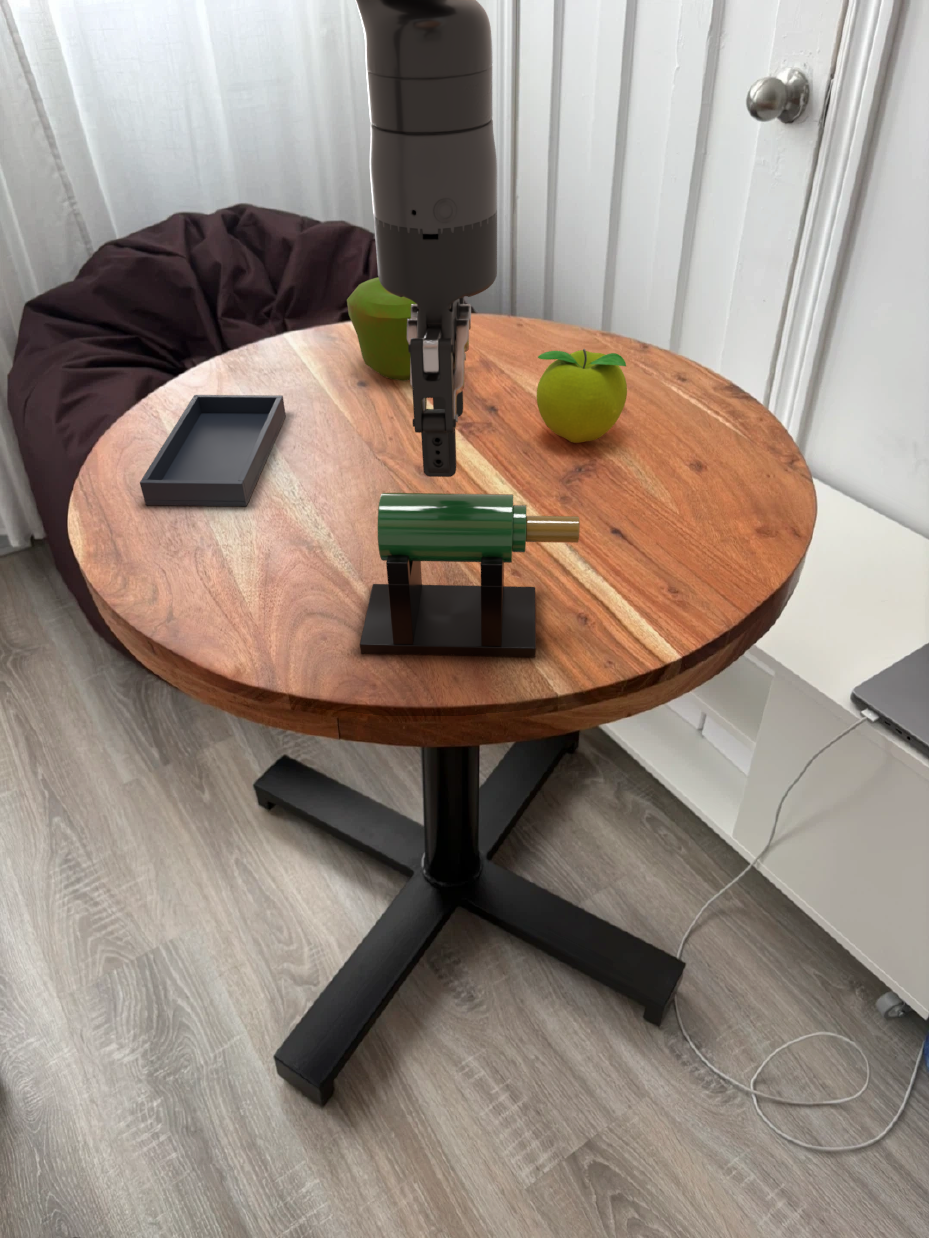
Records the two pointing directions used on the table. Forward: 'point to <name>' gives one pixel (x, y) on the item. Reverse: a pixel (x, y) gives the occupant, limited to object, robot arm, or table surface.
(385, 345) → the apple
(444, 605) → the rack
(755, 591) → the table surface
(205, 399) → the tray
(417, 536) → the green bottle
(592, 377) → the fruit
